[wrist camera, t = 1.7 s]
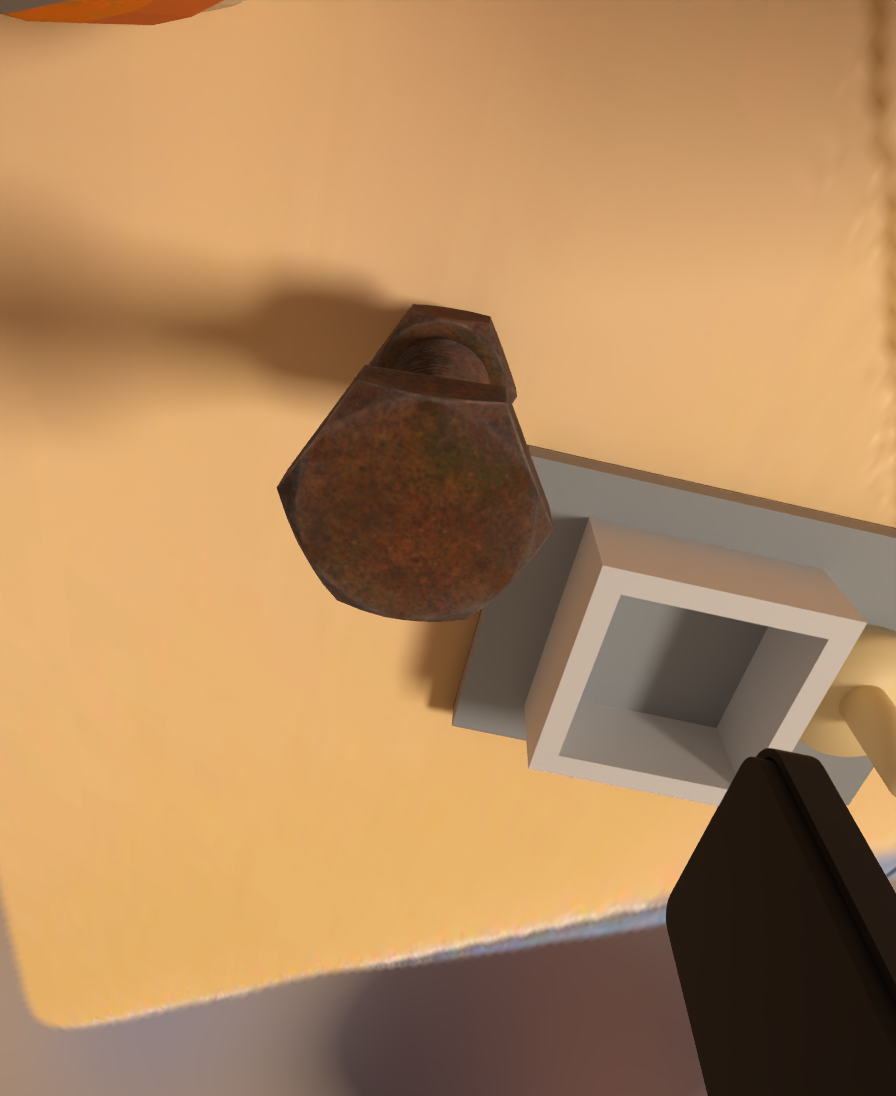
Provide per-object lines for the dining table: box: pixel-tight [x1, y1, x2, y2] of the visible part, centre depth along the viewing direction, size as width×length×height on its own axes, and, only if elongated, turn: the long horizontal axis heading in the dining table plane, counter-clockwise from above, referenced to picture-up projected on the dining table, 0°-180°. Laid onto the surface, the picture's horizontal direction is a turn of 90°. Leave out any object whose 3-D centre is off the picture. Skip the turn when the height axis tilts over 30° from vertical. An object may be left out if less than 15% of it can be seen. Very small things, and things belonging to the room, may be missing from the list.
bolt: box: [277, 304, 554, 622], centre depth 22 cm, size 6×5×15 cm
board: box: [452, 445, 896, 806], centre depth 31 cm, size 20×14×7 cm
